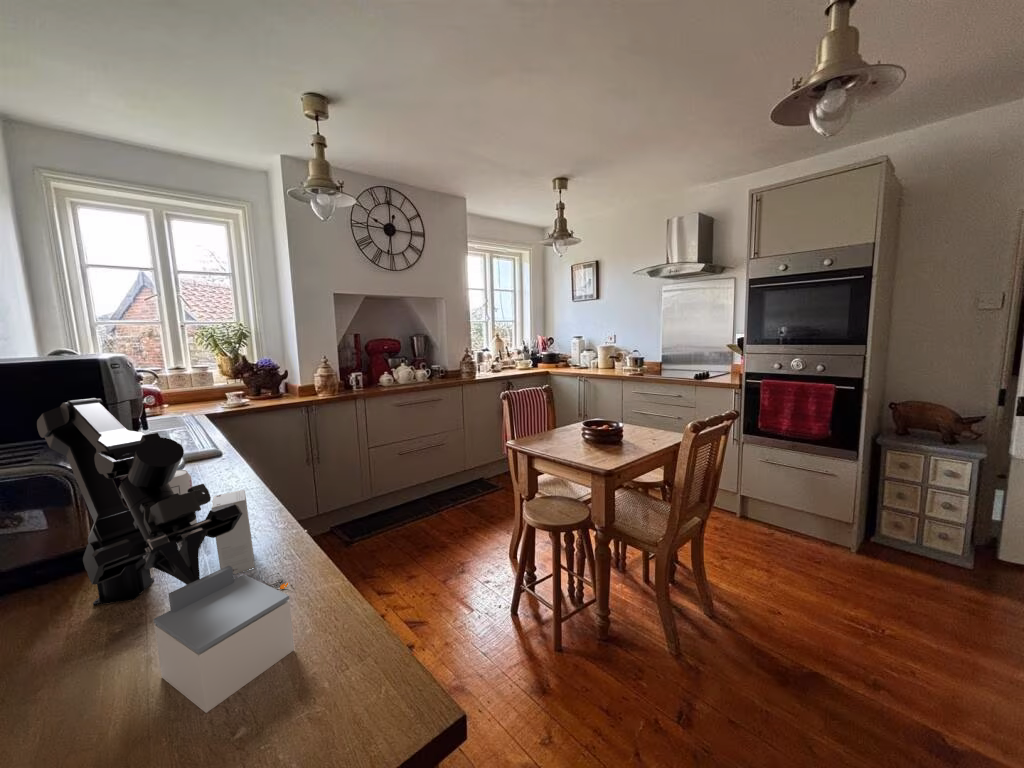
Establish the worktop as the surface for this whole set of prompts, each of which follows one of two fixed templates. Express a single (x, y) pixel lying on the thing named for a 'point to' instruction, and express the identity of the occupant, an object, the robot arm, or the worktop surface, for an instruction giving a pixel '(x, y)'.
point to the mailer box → (226, 658)
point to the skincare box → (235, 535)
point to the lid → (216, 608)
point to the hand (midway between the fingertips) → (196, 585)
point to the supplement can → (182, 485)
